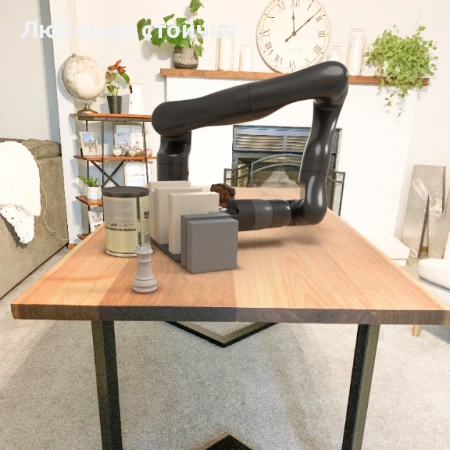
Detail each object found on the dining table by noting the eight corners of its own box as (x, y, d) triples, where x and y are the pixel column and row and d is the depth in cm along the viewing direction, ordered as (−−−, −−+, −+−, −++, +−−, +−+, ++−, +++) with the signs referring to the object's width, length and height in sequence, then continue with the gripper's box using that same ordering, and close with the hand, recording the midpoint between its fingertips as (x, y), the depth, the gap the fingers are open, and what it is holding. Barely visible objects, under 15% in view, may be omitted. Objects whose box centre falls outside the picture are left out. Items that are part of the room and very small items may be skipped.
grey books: (180, 264, 94) (180, 214, 90) (223, 260, 98) (224, 212, 94) (192, 273, 88) (192, 221, 85) (236, 268, 92) (238, 218, 89)
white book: (168, 251, 101) (167, 193, 96) (212, 247, 106) (213, 191, 101) (173, 254, 99) (172, 195, 94) (217, 250, 103) (219, 193, 98)
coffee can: (107, 245, 106) (103, 185, 101) (150, 245, 108) (149, 186, 103) (103, 257, 97) (99, 191, 91) (151, 256, 98) (149, 192, 93)
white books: (144, 236, 116) (143, 180, 111) (187, 233, 121) (187, 180, 116) (177, 262, 95) (176, 195, 90) (227, 257, 100) (229, 193, 95)
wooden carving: (196, 210, 153) (197, 181, 150) (205, 209, 157) (206, 180, 153) (233, 218, 143) (234, 186, 140) (242, 216, 147) (243, 185, 143)
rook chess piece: (133, 285, 81) (131, 242, 78) (158, 285, 81) (157, 242, 78) (131, 294, 77) (128, 249, 74) (157, 294, 77) (155, 249, 74)
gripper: (236, 194, 110) (170, 197, 103) (265, 203, 98) (192, 207, 91) (235, 224, 113) (170, 228, 105) (263, 237, 101) (192, 242, 94)
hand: (181, 218), depth 98 cm, fingers open, 3 cm apart
